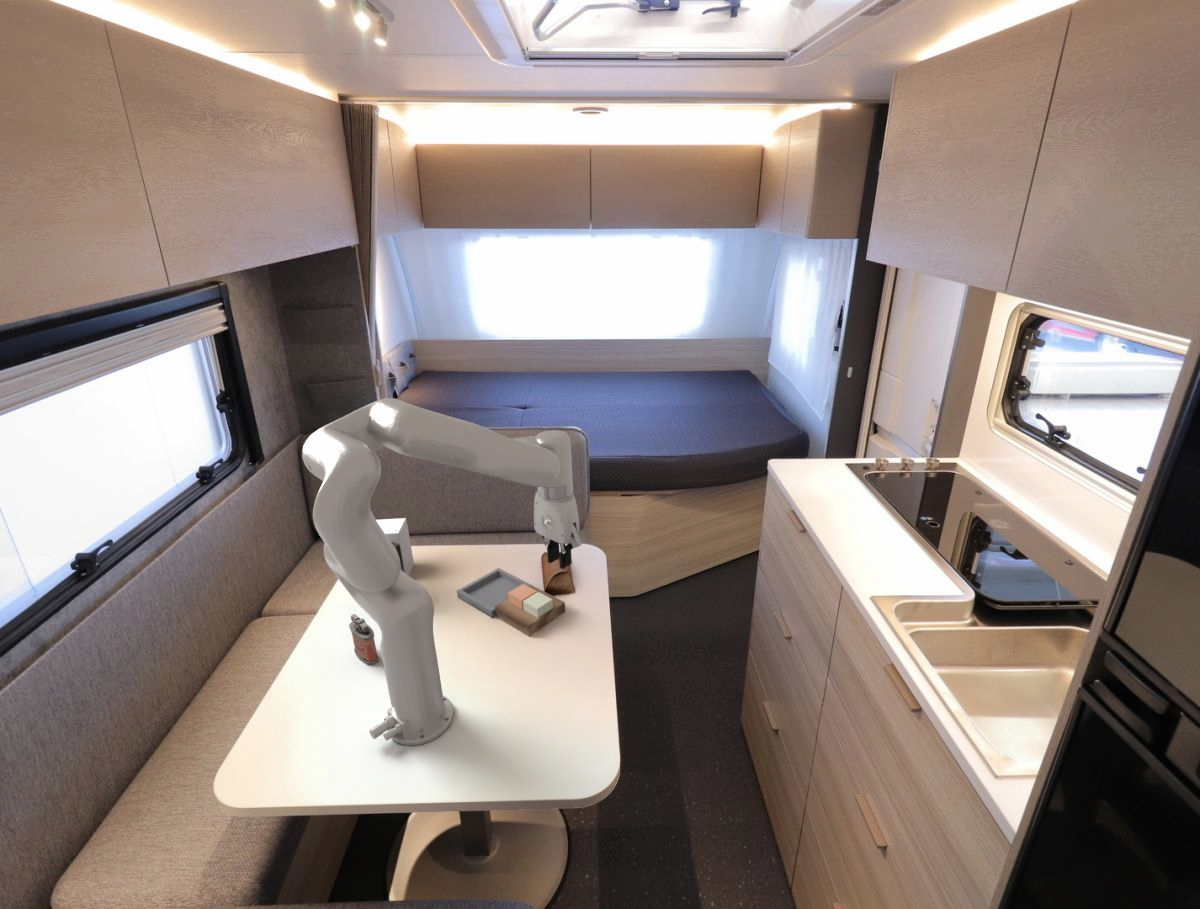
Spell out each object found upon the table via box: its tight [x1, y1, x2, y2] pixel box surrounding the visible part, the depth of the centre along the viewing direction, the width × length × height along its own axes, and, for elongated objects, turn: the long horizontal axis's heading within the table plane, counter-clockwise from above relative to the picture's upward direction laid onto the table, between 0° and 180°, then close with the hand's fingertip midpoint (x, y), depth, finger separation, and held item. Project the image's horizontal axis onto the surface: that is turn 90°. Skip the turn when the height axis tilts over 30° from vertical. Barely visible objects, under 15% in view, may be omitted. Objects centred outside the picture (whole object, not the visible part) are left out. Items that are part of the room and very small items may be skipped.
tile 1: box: [508, 584, 537, 609], centre depth 152 cm, size 5×5×2 cm
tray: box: [456, 567, 534, 619], centre depth 159 cm, size 14×14×2 cm
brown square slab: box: [495, 584, 566, 637], centre depth 151 cm, size 12×12×3 cm
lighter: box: [348, 613, 380, 667], centre depth 137 cm, size 8×3×10 cm, turn 47°
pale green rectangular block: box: [523, 592, 553, 618], centre depth 148 cm, size 5×5×2 cm
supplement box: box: [376, 517, 415, 576], centre depth 168 cm, size 9×9×15 cm
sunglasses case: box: [540, 551, 576, 597], centre depth 167 cm, size 18×7×7 cm
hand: (559, 562), depth 137 cm, fingers open, 3 cm apart
